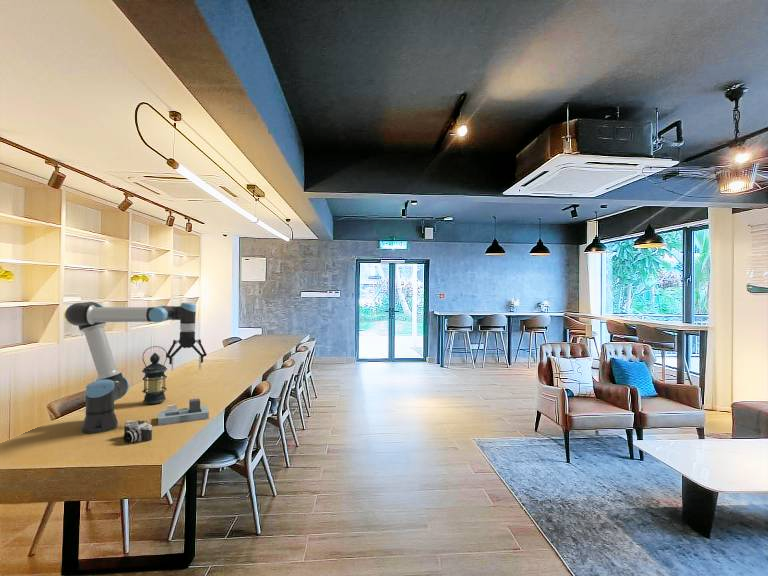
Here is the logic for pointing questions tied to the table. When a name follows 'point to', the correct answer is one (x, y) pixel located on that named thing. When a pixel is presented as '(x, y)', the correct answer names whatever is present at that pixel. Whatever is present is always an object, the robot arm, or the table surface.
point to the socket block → (181, 415)
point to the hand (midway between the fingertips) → (186, 369)
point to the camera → (137, 431)
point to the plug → (194, 405)
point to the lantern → (154, 380)
